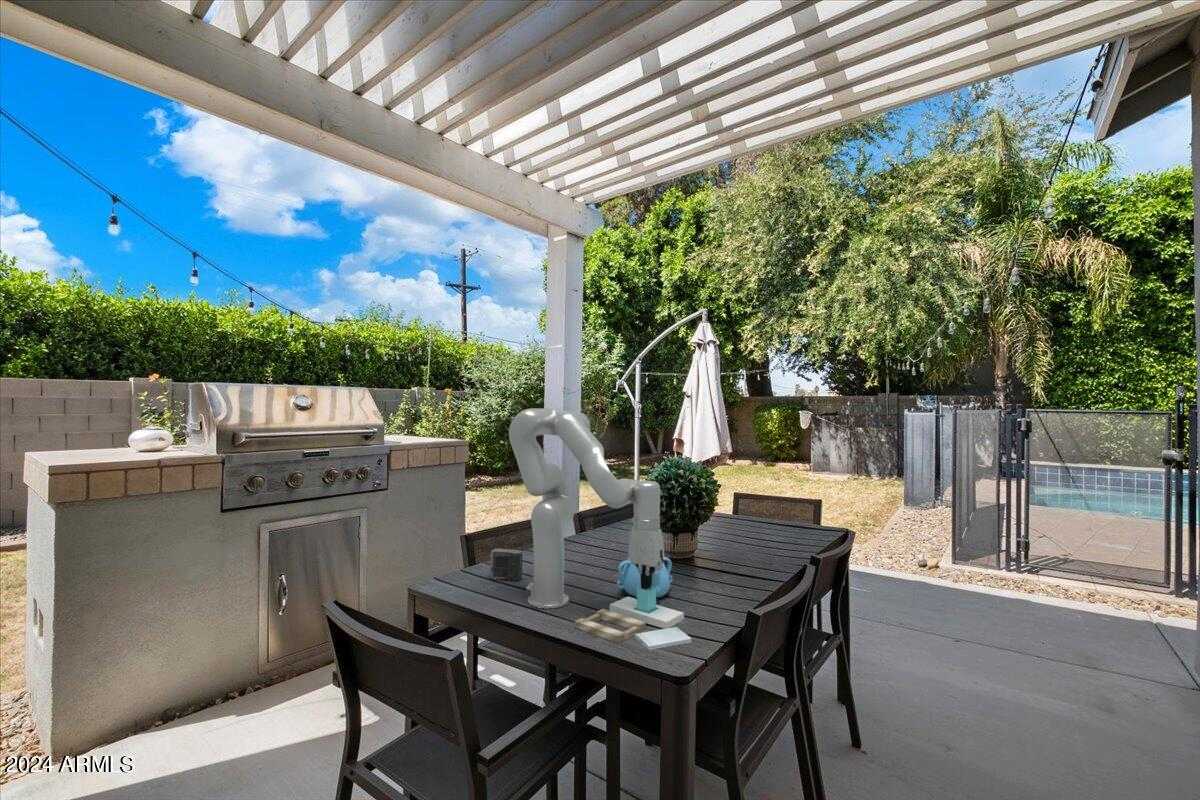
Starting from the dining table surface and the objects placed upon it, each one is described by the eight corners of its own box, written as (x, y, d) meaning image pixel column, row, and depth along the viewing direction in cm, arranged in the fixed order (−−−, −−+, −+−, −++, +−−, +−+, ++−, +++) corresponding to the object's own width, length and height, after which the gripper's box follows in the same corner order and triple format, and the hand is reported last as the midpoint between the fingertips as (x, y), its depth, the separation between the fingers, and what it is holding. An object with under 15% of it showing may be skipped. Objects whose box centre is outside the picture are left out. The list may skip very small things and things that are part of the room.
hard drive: (675, 626, 150) (634, 632, 145) (691, 638, 142) (648, 645, 137) (675, 632, 150) (634, 639, 145) (691, 644, 142) (648, 652, 137)
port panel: (609, 611, 163) (609, 604, 163) (627, 603, 170) (627, 596, 170) (666, 629, 150) (666, 622, 150) (684, 619, 157) (684, 612, 157)
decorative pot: (610, 596, 176) (610, 553, 176) (634, 582, 190) (634, 542, 190) (656, 606, 167) (656, 561, 167) (678, 591, 181) (678, 549, 181)
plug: (636, 615, 160) (636, 588, 160) (644, 612, 163) (644, 584, 163) (647, 619, 157) (648, 591, 157) (655, 615, 160) (656, 587, 160)
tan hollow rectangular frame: (575, 627, 151) (575, 621, 151) (603, 615, 160) (603, 608, 160) (618, 643, 141) (618, 636, 141) (645, 628, 150) (645, 622, 150)
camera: (524, 578, 193) (524, 549, 193) (517, 583, 188) (518, 553, 188) (494, 575, 196) (495, 547, 197) (487, 580, 191) (487, 551, 191)
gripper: (618, 522, 162) (617, 585, 162) (661, 530, 152) (660, 596, 152) (633, 518, 168) (633, 579, 168) (675, 525, 158) (675, 590, 158)
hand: (646, 587), depth 160 cm, fingers closed
